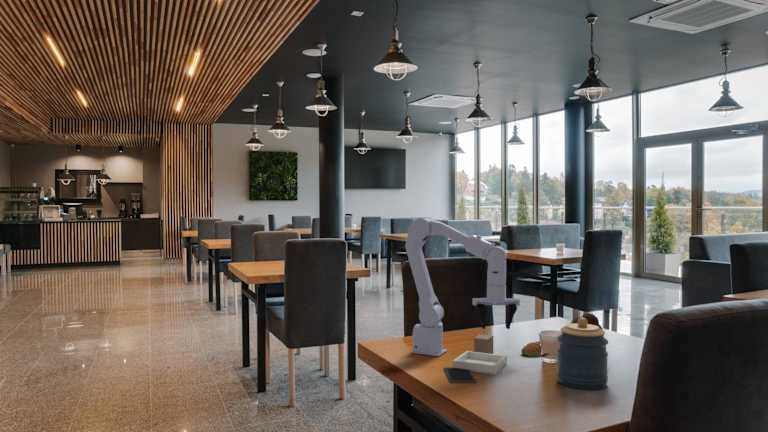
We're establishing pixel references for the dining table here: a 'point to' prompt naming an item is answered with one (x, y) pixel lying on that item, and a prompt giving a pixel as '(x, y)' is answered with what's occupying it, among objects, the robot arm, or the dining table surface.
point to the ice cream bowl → (589, 320)
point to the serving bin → (480, 362)
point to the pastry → (532, 349)
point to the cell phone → (459, 375)
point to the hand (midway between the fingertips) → (495, 328)
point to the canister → (582, 356)
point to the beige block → (483, 344)
